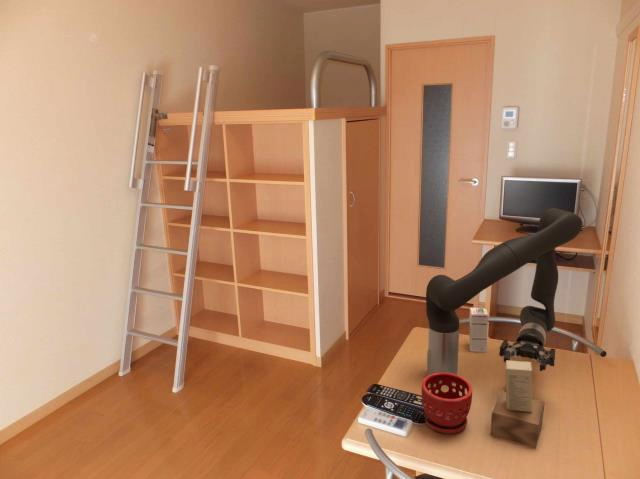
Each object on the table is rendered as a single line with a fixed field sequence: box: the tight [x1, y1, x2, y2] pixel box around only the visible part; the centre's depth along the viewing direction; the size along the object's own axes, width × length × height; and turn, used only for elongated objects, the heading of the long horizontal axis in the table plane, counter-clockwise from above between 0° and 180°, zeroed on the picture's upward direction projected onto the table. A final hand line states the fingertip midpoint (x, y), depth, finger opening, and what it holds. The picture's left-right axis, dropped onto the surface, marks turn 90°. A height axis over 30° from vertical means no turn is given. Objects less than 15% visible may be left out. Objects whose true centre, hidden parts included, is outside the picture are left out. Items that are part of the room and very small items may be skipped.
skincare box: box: [505, 360, 533, 412], centre depth 124 cm, size 6×4×12 cm
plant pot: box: [421, 372, 473, 434], centre depth 130 cm, size 13×13×12 cm
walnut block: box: [490, 391, 545, 449], centre depth 127 cm, size 11×11×7 cm
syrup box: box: [468, 307, 489, 353], centre depth 169 cm, size 6×6×14 cm
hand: (523, 364), depth 130 cm, fingers open, 8 cm apart
